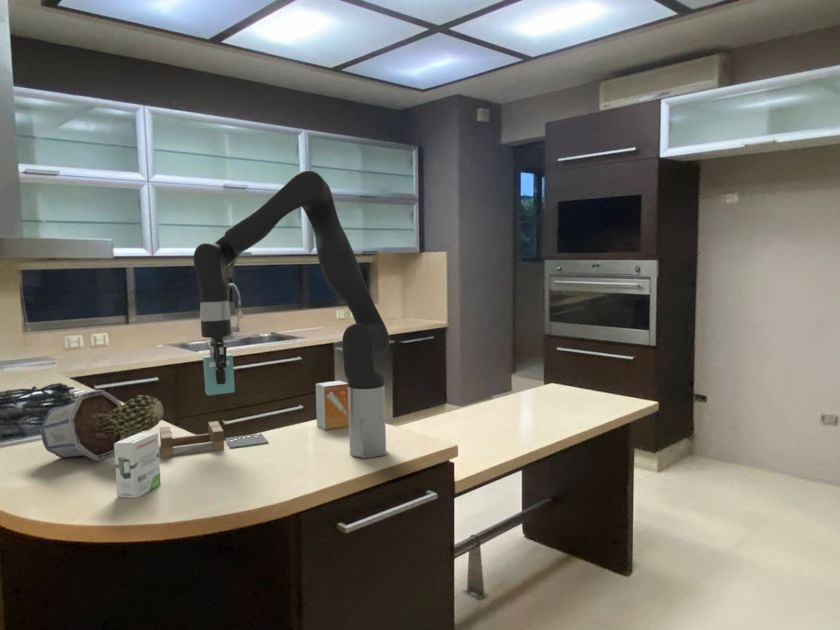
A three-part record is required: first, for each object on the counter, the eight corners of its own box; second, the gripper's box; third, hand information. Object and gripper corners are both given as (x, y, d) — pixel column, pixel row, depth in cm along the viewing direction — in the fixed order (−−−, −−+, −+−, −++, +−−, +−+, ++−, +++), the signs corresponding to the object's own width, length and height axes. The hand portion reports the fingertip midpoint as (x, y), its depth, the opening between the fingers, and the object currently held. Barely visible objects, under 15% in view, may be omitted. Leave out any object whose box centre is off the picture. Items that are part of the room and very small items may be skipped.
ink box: (142, 483, 137) (139, 431, 136) (162, 484, 136) (159, 432, 135) (116, 497, 129) (112, 442, 128) (137, 498, 128) (133, 443, 127)
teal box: (235, 392, 164) (232, 355, 164) (207, 395, 161) (205, 357, 161) (232, 390, 168) (229, 353, 167) (205, 393, 165) (202, 356, 164)
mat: (268, 443, 167) (268, 441, 167) (230, 448, 163) (230, 447, 163) (261, 434, 176) (261, 433, 176) (225, 439, 172) (224, 438, 172)
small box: (325, 430, 179) (324, 386, 178) (316, 426, 184) (315, 383, 183) (350, 426, 183) (349, 383, 182) (340, 422, 189) (339, 380, 188)
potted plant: (22, 408, 151) (126, 380, 144) (77, 396, 168) (172, 371, 162) (38, 477, 150) (143, 453, 144) (92, 458, 168) (188, 436, 162)
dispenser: (224, 449, 162) (223, 430, 162) (162, 457, 156) (161, 438, 155) (218, 438, 173) (217, 420, 172) (160, 445, 167) (159, 427, 166)
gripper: (234, 318, 159) (239, 384, 160) (225, 316, 172) (229, 377, 173) (204, 320, 155) (208, 388, 157) (197, 318, 168) (201, 380, 169)
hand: (219, 382), depth 165 cm, fingers closed on teal box, 4 cm apart
